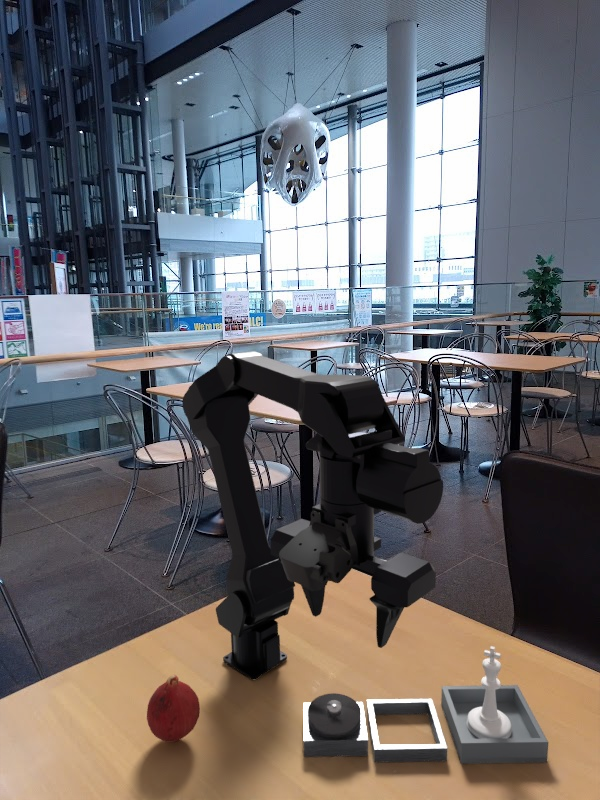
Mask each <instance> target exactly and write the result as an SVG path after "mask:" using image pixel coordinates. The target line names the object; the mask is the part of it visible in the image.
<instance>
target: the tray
mask: <svg viewBox="0 0 600 800" xmlns="http://www.w3.org/2000/svg"><path fill="white" fill-rule="evenodd" d="M485 692H486V688H485V687H484V686H483V685H441V698H440V699H441V700H440V701H441V703H440V705H441V708H442V711H443V714H444V717H445V720H446V723H447V726H448V728H449V731H450V736H451V738H452V741H453V744H454V748H455V750H456V754H457V756H458V759H459V763H460V764H462V765H463V764H466V765H467V764H469V765H470V764H471V765H472V764H520V763H521V764H526V763H529V764H530V763H538V764H539V763H548V756H549V755H548V753H549V741H548V739H547V737H546V735H545V733H544V731H543V729H542V728H541V726H540V724H539V722H538V720H537V717H536V716H535V715H534V713H533V711H532V709H531V707H530V705H529V703H528V701H527V700H526V697H525V696H524V694H523V691H522V690H521V688H520V686H519V685H518V684H509V685H508V684H503V685H502V684H501V687H500V688H499V689H497V690H495V694H496V706H497V710H499V711H501V712H502V713H504V714H505V715H506V716H507V717H508V719H509V720H510V722H511V729H512V733H511V736H510V737H509V738H495V739H480V738H478V737H476V736H475V735H473V734H472V733H471V732H470V730H469V729H468V727H467V717H468V714H469V712H470V711H471V710H472V709H474V708H477V707H483V702H484V697H485Z"/></svg>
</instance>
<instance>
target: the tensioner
mask: <svg viewBox="0 0 600 800" xmlns="http://www.w3.org/2000/svg"><path fill="white" fill-rule="evenodd" d="M366 714H367V722H368V728H369V729H368V730H369V733H370V740H371V747H372V749H371V750H372V754H373V759H374V760H373V762H374V763H403V762H404V763H405V762H406V763H408V762H411V763H413V762H414V763H415V762H416V763H417V762H419V763H420V762H427V763H428V762H447V761H448V745H447V742H446V740H445V736H444V733H443V730H442V727H441V723H440V721H439V717H438V713H437V710H436V708H435V705H434V701H433V699H432V698H400V699H398V698H395V699H394V698H393V699H391V698H390V699H386V698H385V699H384V698H383V699H382V698H381V699H366ZM383 715H384V716H391V715H392V716H393V715H395V716H396V715H397V716H398V715H403V716H404V715H427V717H428V720H429V724H430V727H431V730H432V734H433V737H434V740H435V743H433V744H432V743H427V744H425V743H424V744H423V743H422V744H419V743H418V744H414V743H413V744H380V740H379V734H378V729H377V727H378V726H377V723H376V716H383ZM368 730H367V725H366V716H365V709H364V702H363V701H356V700H354V698H352V697H350V696H349V695H345V694H343V693H325V694H322V695H319V696H317V697H315V698H314V699H312V701H311V702H303V757H304V758H307V757H308V758H309V757H315V758H317V757H322V758H323V757H369V737H368Z"/></svg>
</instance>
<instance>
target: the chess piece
mask: <svg viewBox="0 0 600 800" xmlns="http://www.w3.org/2000/svg"><path fill="white" fill-rule="evenodd" d="M489 649H490V650H488V649H484V653H483V656H485V657H488V658H484V659H483V660H482V667H483V670H484V674H485V676H483V677H482V678H481V680H480V682H481V683H480V684H481V686H484V687H485V688H486V692H485V697H484V702H483V707H477V708H474V709H472V710H471V711H470V712H469V714H468V717H467V727H468V729H469V730H470V732H471V733H472V734H473V735H475V736H476V737H478V738H480V739H495V738H509V737H510V736H511V733H512V729H511V722H510V720H509V719H508V717H507V716H506V715H505V714H504V713H502V712H501V711H499V710H497V706H496V694H495V690H497V689H499V688H500V687H501V685H502V683H501V681H500V680H499V678H497V677H498V675H499V673H500V672H501V668H502V664H501V662H500V661H499V660H501V655H502V654H501V652H496V647H495V646H493V645H490V648H489Z"/></svg>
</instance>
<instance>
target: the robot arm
mask: <svg viewBox="0 0 600 800" xmlns="http://www.w3.org/2000/svg"><path fill="white" fill-rule="evenodd" d="M258 396H261V397H263V398H265V399H268V400H271V401H272V402H275V403H277V404H279V405H282V406H285V407H288V408H290V409H292V410H294V411H295V412H296V413H298V416H299V419H300V422H301V423H302V424H303V425H304V426H306V427H308V429H311V430H312V431H313V432H315V433H316V434H314V436H312V437H311V438H310V439H309V440H308V441H307V442H306V443H305V447H306V449H307V450H311V451H312V452H313V451H314V452H317V453H319V456H318V457H319V504H315V505H314V506H312V508H311V509H312V511H311V512H310V520H307V519H303V518H299V519H298V520H295V521H293V522H291V523H288V524H286V525H284V526H283V525H282V527H279V528H277V529H275V530H274V532H273V533H272V536H271V537H270V544H269V541H268V536H267V533H266V527H265V524H264V519H263V514H262V511H261V506H260V502H259V498H258V494H257V491H256V485H255V481H254V477H253V474H252V469H251V464H250V460H249V457H248V451H247V448H246V443H245V438H246V434H247V432H248V429H249V425H250V422H251V413H250V405H251V404H252V403H253V401H254V400H255V399H256V398H257V397H258ZM181 404H182V410H183V412H184V415H185V417H186V418H187V421H188V422H187V423H188V425H189V427H190V431H191V433H192V435H194V436H195V437H196V439H198V441H199V442H200V443H202V445H203V446H204V447H205V448H206V449H207V452H208V453H209V454H208V455H209V459H210V461H211V462H210V463H211V467H212V472H213V476H214V477H213V478H214V480H215V481H214V482H215V485H216V490H217V493H218V498H219V503H220V506H221V507H220V508H221V511H222V515H223V519H224V523H225V524H224V525H225V528H226V532H227V536H228V541H229V545H230V549H231V555H232V556H231V560H230V562H229V565H228V566H229V567H228V570H227V573H226V577H225V584H226V590H227V596H226V597H225V598H224V599H223V600H222V601H221V602H220V603H219V604H218V605H217V606H216V607H215V615H216V617H217V621H218V624H219V626H220V627H222V628H224V629H225V630H226V631H227V632H229V633H230V641H231V642H230V643H231V647H230V648H231V652H229V653H227V654H226V655H224V656H223V657H222V658H223V662H224V663H225V664H227V665H228V666H230V667H231V668H233V669H235V670H236V671H237V672H239V673H240V674H242V675H243V676H245V677H247V678H249V679H250V680H252V681H255V680H257V679H260V677H261V676H264V675H265V674H266V673H268V672H269V671H271V670H273V669H274V668H276V667H277V666H279V665H280V664H282V663H283V662H285V661H286V660H287V659H288V654H287V653H286V652H285V653H284V651H281V643H280V642H281V641H280V640H281V639H280V635H279V625H278V624H279V623H278V621H276V620H277V619H280V618H282V617H284V616H287V615H288V614H289V611H290V609H291V605H292V603H293V600H294V599H295V588H294V587H296V584H298V585H300V586H301V589H302V591H303V594H304V596H305V599H306V602H307V604H308V607H309V609H310V613H311V615H312V616H313V617H315V618H316V617H318V616H320V615H321V613H322V609H323V606H324V601H325V593H326V592H325V591H326V586H327V585H328V582H332V583H334V584H340V583H341V582H342V581H343V579H344V578H345V577H346V576H348V574H349V573H350V572H351V570H355V571H357V572H360V573H363V574H366V575H368V576H371V578H370V589H371V591H372V593H373V594H374V595H372V596H370V597H369V598H368V599H369V601H370V602H371V603H372V604H373V605H374V606H375V607H376V615H375V617H376V618H375V619H376V623H375V627H376V628H375V629H376V635H375V636H376V642H377V647H378V648H380V649H382V648H384V647H385V646H386V645H387V643H388V641H389V639H390V638H391V635H392V633H393V631H394V629H395V628H396V625H397V623H398V621H399V619H400V617H401V615H402V613H403V611H404V609H405V608H409V607H410V606H412V605H413V604H414V603H416V602H418V601H419V600H420V599H421V598H423V597H424V596H425V595H427V594H429V593H430V592H431V591H432V590H434V589H436V586H437V585H436V583H437V582H436V581H437V580H436V577H437V575H436V574H437V572H436V569H435V567H434V566H433V564H432V563H431V562H430V561H428V560H425V559H421V558H419V557H415V556H413V555H411V554H408V553H404V552H400V553H398V554H396V555H395V556H393V557H391V558H389V559H388V560H385V559H383V558H380V557H377V556H375V555H374V554H375V551H377V550H379V549H381V548H382V538H380V537H377V536H375V515H377V514H379V513H381V512H384V513H386V514H389V515H392V516H395V517H398V518H399V519H403V520H406V521H408V522H411V523H414V524H424V523H426V522H427V521H429V520H431V518H433V516H434V515H435V513H436V512H437V510H438V509H439V506H440V505H441V501H442V497H443V491H444V481H443V479H442V477H441V474H440V471H439V469H438V468H437V466H436V465H434V464H433V463H431V462H430V458H431V457H430V455H431V453H430V451H429V450H428V449H425V448H421V447H408V446H403V445H401V444H404V443H405V442H406V438H405V436H404V434H403V432H402V431H401V429H400V425H399V424H398V422H397V421H396V418H395V417H394V415H393V413H392V411H391V408H390V407H389V404H387V402H386V399H385V398H384V396H383V393H382V391H381V390H380V385H379V383H378V382H377V381H376V380H375V379H374V378H372V377H370V376H367V375H358V374H357V375H355V374H318V373H316V372H313V371H309V370H307V369H303V368H300V367H297V366H294V365H292V364H291V365H290V364H287V363H284V362H281V361H279V360H276V359H272V358H270V357H267V356H265V355H263V354H262V353H260V352H257V351H254V350H253V351H243V352H233V353H227V354H226V355H223V356H222V357H221V358H220V359H219V361H218V362H217V363H216V365H215V366H214V367H212V368H210V369H209V370H207V371H206V372H204V373H203V374H202V375H201V376H198V377H197V378H196V379H194V381H193V382H192V383H191V385H189V387H188V389H187V390H186V392H185V393H184V395H183V397H182V403H181ZM373 429H375V431H371V432H367V433H363V434H359V435H355V436H352V437H350V435H352V434H357V433H360V432H365V431H369V430H373Z"/></svg>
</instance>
